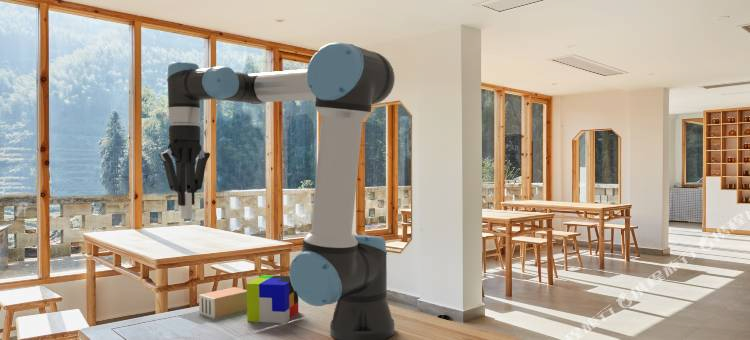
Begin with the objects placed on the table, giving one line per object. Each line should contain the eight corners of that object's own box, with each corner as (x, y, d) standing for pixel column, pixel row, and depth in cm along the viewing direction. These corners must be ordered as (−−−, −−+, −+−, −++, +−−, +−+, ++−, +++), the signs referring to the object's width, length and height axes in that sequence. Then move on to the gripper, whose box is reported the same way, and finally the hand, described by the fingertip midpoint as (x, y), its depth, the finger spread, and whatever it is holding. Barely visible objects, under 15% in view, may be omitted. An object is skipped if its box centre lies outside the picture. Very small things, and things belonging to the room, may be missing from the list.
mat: (254, 312, 149) (254, 310, 149) (200, 326, 137) (200, 324, 137) (230, 305, 156) (230, 303, 156) (177, 317, 145) (177, 316, 145)
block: (213, 318, 142) (249, 309, 150) (213, 299, 142) (249, 290, 150) (199, 313, 147) (234, 304, 155) (198, 294, 147) (234, 287, 155)
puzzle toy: (284, 325, 138) (284, 285, 137) (247, 323, 140) (246, 283, 139) (298, 313, 147) (297, 276, 147) (263, 312, 149) (262, 275, 149)
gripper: (200, 126, 147) (202, 215, 148) (152, 124, 137) (154, 219, 138) (215, 125, 142) (217, 217, 143) (167, 123, 132) (169, 222, 133)
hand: (186, 218), depth 140 cm, fingers closed
